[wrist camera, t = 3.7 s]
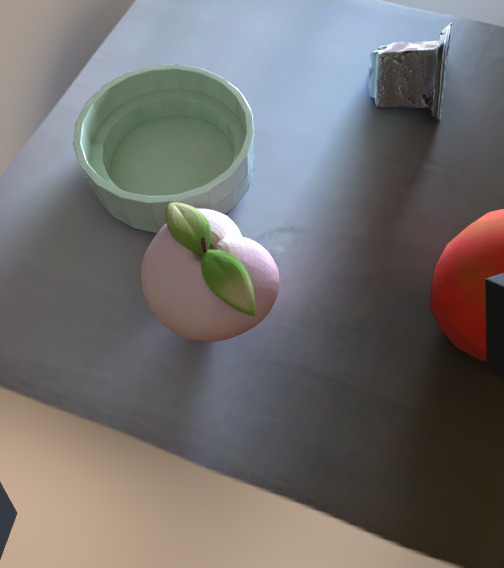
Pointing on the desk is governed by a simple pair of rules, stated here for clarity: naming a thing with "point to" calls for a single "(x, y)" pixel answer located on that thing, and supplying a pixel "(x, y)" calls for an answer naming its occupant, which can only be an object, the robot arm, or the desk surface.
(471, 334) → the apple
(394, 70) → the grey blocky piece
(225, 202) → the bowl
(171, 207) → the decorative fruit
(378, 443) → the desk surface
